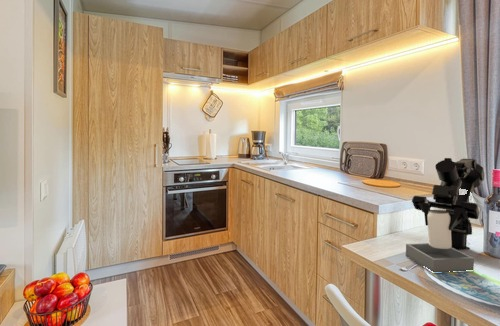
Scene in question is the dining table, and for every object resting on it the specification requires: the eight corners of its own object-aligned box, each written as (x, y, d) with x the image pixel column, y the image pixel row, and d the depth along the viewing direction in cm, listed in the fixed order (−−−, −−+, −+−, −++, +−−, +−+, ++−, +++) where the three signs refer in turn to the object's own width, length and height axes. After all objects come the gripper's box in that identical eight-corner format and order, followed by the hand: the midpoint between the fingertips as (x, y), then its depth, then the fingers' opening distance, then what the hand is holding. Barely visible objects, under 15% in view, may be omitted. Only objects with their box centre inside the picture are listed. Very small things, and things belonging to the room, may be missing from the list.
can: (456, 247, 92) (454, 211, 91) (442, 251, 90) (440, 214, 89) (437, 242, 98) (436, 208, 98) (424, 245, 96) (422, 210, 95)
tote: (440, 254, 102) (441, 242, 101) (473, 271, 88) (474, 258, 88) (405, 255, 101) (406, 243, 100) (433, 273, 87) (433, 259, 87)
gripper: (414, 173, 102) (401, 208, 96) (479, 178, 88) (469, 219, 82) (421, 191, 108) (409, 225, 101) (483, 199, 93) (473, 239, 87)
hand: (437, 227), depth 93 cm, fingers closed on can, 6 cm apart
